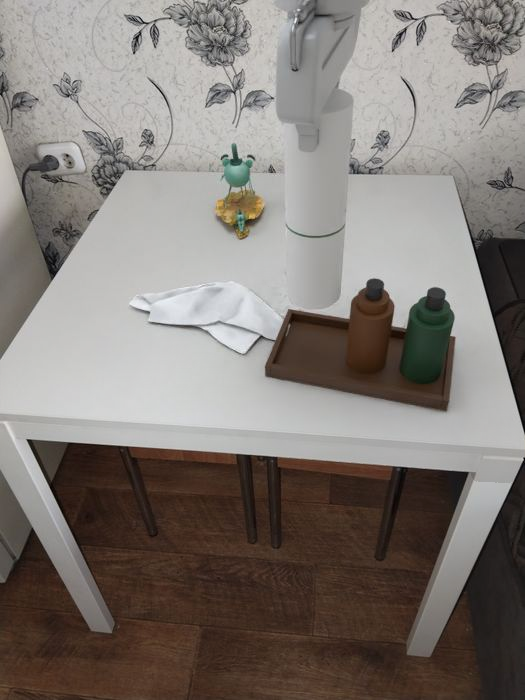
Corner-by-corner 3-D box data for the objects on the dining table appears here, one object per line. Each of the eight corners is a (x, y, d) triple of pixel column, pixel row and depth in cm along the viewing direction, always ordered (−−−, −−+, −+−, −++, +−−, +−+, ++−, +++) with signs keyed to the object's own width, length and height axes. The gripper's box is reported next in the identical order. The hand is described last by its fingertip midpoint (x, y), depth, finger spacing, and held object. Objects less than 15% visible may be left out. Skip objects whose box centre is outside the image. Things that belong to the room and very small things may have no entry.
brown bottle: (388, 349, 84) (400, 273, 75) (382, 377, 81) (394, 300, 71) (350, 342, 86) (357, 267, 76) (342, 369, 82) (348, 293, 73)
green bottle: (442, 359, 83) (461, 282, 73) (439, 387, 79) (458, 310, 69) (402, 352, 84) (415, 275, 75) (396, 379, 80) (410, 303, 71)
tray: (453, 346, 85) (455, 336, 84) (446, 411, 77) (449, 401, 75) (288, 318, 91) (288, 308, 89) (265, 376, 82) (264, 366, 81)
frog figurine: (202, 238, 108) (194, 158, 99) (225, 198, 122) (220, 124, 113) (253, 241, 106) (250, 160, 97) (271, 200, 120) (269, 126, 111)
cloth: (308, 308, 92) (309, 297, 90) (266, 366, 83) (265, 355, 82) (171, 263, 101) (169, 252, 99) (121, 311, 93) (118, 300, 91)
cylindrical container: (340, 276, 80) (353, 86, 62) (340, 310, 75) (354, 114, 57) (288, 275, 80) (286, 86, 63) (284, 308, 75) (280, 114, 58)
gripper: (332, 15, 45) (326, 181, 55) (375, -44, 59) (363, 97, 69) (254, 12, 47) (261, 174, 56) (313, -45, 60) (311, 93, 70)
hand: (318, 131), depth 62 cm, fingers closed on cylindrical container, 7 cm apart
